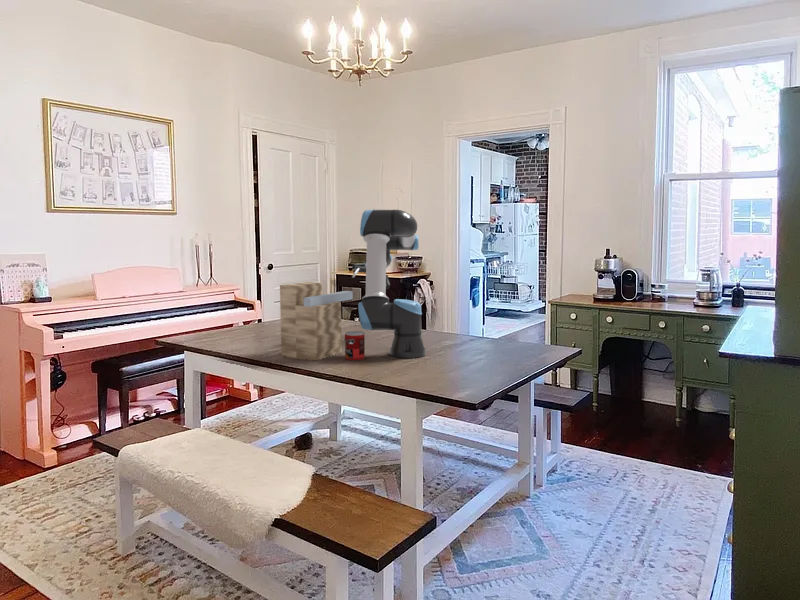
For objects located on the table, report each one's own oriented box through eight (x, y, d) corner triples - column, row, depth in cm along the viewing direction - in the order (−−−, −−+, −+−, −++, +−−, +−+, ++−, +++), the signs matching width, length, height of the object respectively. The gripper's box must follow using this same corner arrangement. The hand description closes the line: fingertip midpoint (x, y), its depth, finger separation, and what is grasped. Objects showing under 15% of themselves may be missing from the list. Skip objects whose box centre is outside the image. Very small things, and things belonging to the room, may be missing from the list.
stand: (308, 348, 267) (307, 281, 264) (341, 352, 258) (340, 283, 255) (281, 356, 252) (279, 285, 248) (315, 360, 243) (314, 287, 239)
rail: (346, 298, 269) (346, 290, 269) (352, 299, 267) (352, 291, 267) (303, 306, 243) (303, 297, 243) (310, 306, 241) (310, 298, 241)
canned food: (343, 357, 249) (342, 331, 248) (361, 356, 252) (361, 330, 251) (348, 361, 242) (347, 334, 241) (366, 359, 245) (366, 333, 244)
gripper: (396, 285, 300) (386, 302, 281) (353, 260, 300) (340, 275, 281) (403, 274, 297) (393, 289, 278) (359, 248, 297) (346, 262, 278)
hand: (366, 282), depth 279 cm, fingers open, 13 cm apart
